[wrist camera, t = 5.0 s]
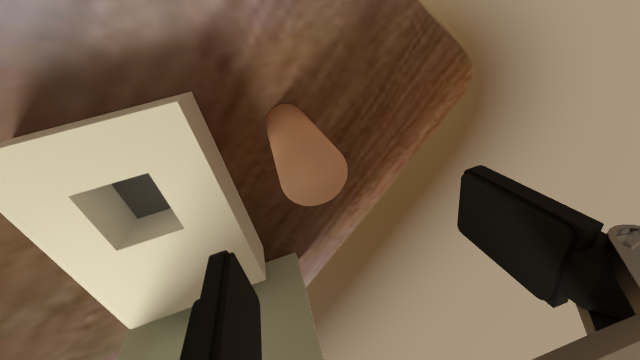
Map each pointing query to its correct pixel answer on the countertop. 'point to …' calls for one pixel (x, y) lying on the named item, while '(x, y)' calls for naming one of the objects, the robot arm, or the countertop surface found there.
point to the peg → (304, 157)
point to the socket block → (130, 205)
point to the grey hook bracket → (276, 321)
